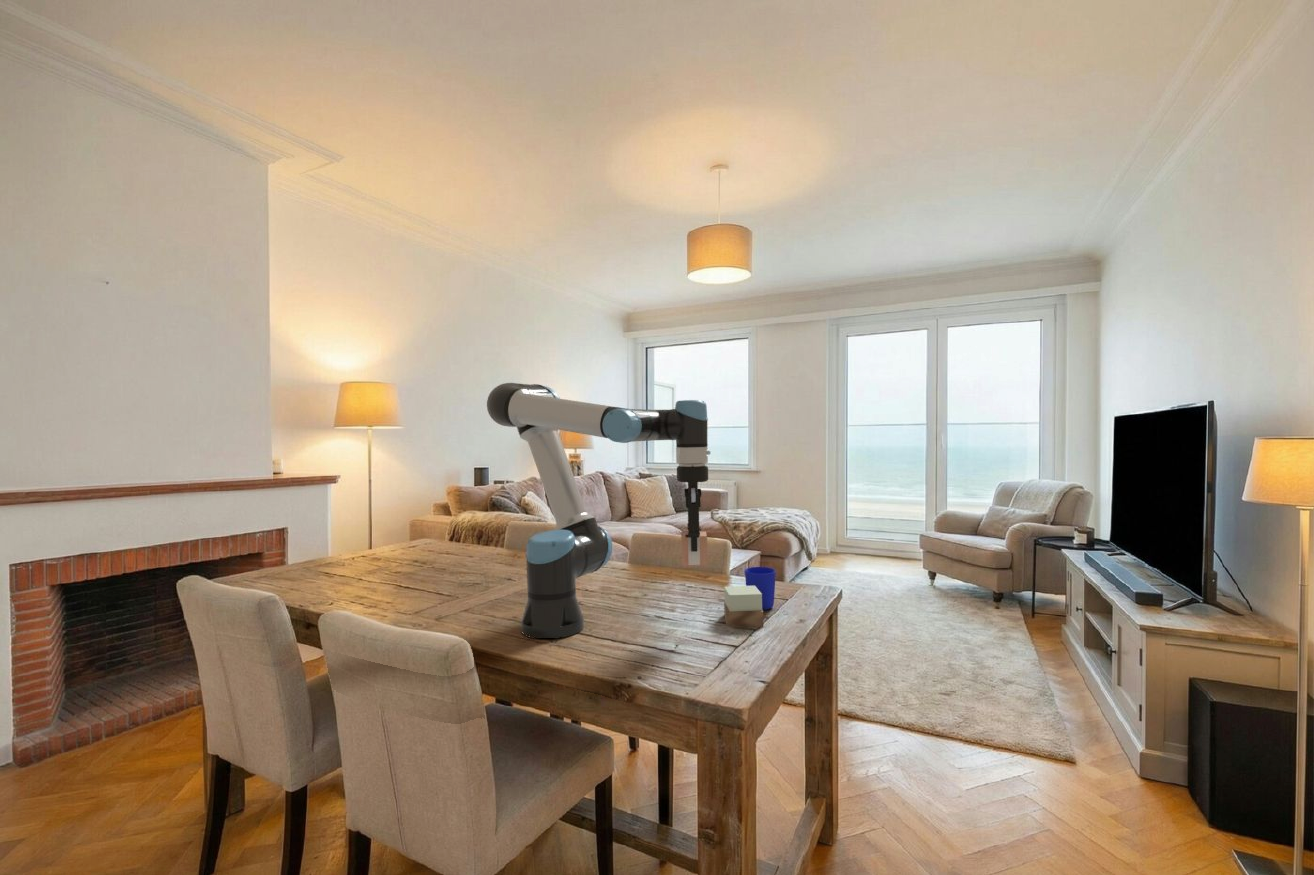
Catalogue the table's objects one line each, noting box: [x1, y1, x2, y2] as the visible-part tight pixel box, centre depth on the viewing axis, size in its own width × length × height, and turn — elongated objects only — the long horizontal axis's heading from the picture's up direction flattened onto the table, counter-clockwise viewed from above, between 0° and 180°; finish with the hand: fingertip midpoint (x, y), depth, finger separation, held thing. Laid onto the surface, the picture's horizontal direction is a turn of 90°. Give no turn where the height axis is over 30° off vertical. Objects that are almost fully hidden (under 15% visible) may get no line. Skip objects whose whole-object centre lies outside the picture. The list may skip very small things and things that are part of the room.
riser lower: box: [723, 601, 765, 628], centre depth 150 cm, size 9×9×4 cm
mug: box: [744, 566, 777, 611], centre depth 163 cm, size 8×12×10 cm
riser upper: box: [723, 585, 762, 611], centre depth 150 cm, size 8×8×4 cm
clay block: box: [680, 531, 708, 567], centre depth 143 cm, size 6×6×7 cm
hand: (694, 561), depth 143 cm, fingers closed on clay block, 6 cm apart
